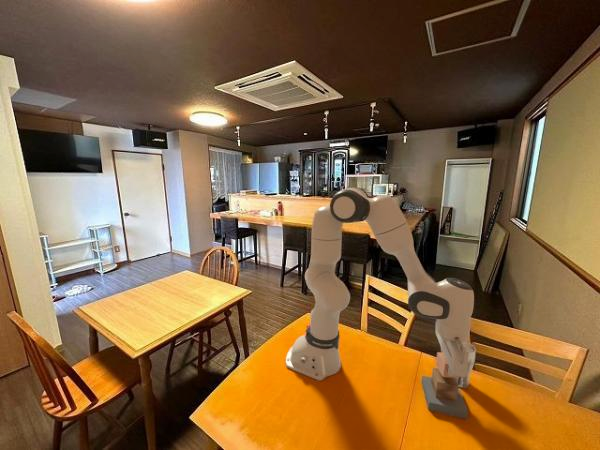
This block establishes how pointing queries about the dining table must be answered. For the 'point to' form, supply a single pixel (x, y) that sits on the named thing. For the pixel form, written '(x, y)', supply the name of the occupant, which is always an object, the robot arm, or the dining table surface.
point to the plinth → (443, 401)
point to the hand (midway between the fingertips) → (447, 366)
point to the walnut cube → (444, 386)
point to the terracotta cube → (443, 365)
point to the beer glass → (463, 381)
